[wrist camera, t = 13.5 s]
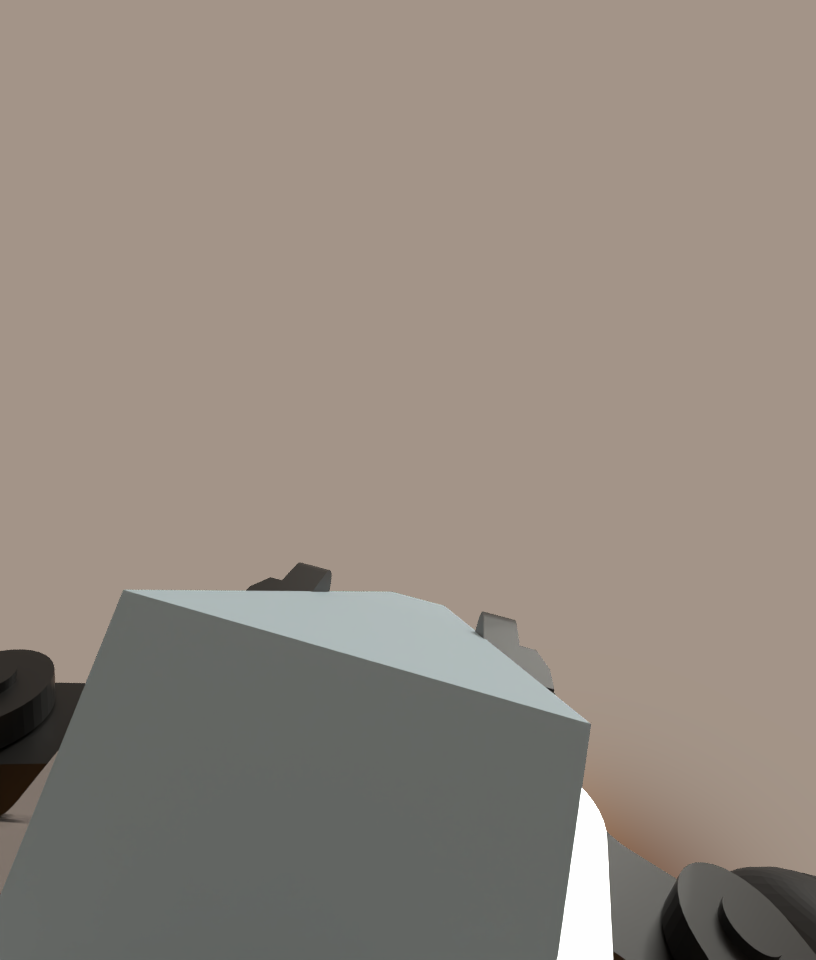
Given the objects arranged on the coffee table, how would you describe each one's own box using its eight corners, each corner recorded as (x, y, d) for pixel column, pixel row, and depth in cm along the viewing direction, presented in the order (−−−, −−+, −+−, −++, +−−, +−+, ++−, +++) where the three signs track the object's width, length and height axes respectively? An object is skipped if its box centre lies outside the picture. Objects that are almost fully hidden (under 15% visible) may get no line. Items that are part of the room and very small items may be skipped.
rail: (378, 646, 28) (392, 591, 28) (431, 661, 27) (444, 605, 28) (-126, 1204, 2) (122, 589, 3) (482, 1496, 2) (592, 723, 3)
